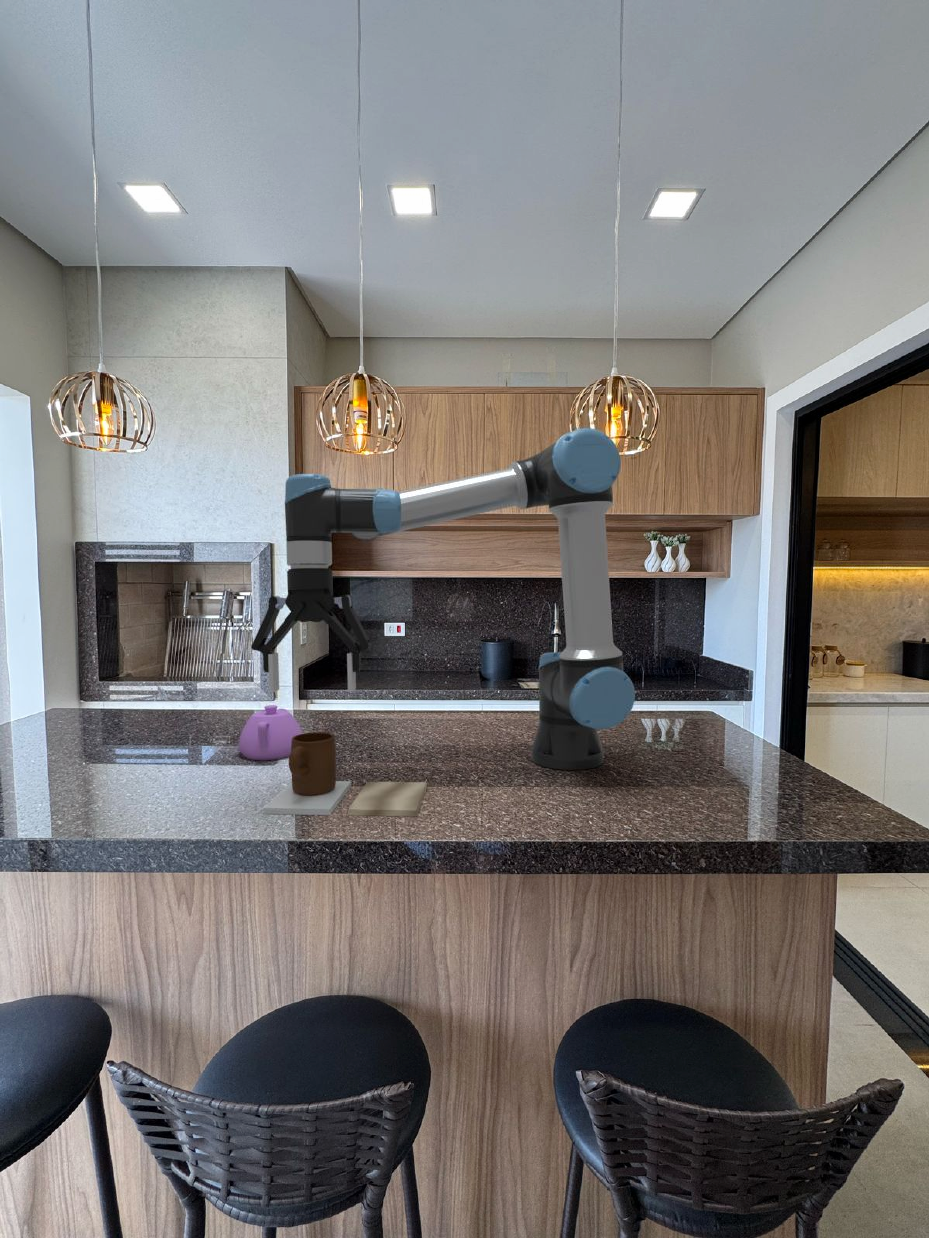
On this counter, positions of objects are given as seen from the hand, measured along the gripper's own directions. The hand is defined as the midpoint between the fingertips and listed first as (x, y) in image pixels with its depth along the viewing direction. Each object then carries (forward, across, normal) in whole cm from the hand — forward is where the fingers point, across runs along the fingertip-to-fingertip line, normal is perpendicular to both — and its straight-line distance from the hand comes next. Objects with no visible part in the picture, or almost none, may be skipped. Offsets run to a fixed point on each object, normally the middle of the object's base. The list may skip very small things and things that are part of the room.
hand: (313, 691), depth 105 cm
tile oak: (+19, -13, +1) cm, 23 cm away
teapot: (+19, +19, -29) cm, 40 cm away
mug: (+18, +1, 0) cm, 18 cm away
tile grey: (+19, +1, +1) cm, 19 cm away
